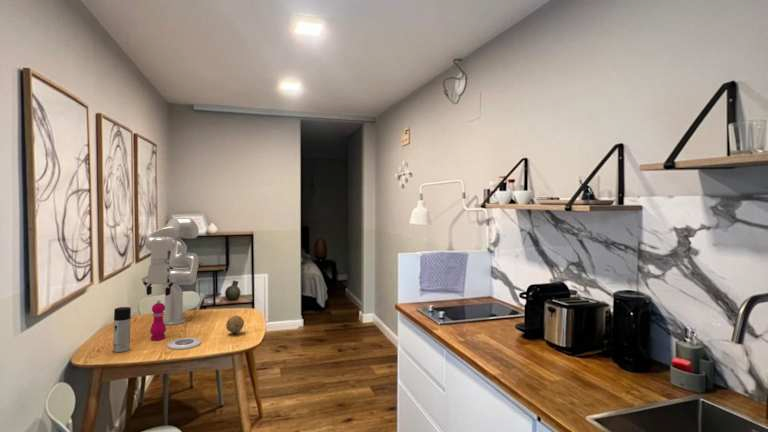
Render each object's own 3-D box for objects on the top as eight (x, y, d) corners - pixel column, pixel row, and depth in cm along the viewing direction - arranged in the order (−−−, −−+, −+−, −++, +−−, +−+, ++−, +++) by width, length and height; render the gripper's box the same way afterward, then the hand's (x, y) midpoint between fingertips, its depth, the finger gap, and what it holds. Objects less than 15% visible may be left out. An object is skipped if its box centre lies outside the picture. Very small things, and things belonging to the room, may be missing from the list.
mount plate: (177, 339, 210) (177, 336, 210) (206, 340, 210) (206, 337, 210) (161, 349, 195) (161, 346, 195) (192, 350, 195) (192, 347, 195)
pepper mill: (158, 341, 206) (159, 302, 206) (146, 340, 208) (147, 301, 207) (169, 337, 213) (169, 299, 213) (157, 335, 215) (157, 298, 214)
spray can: (118, 347, 196) (118, 306, 195) (132, 347, 196) (133, 306, 196) (110, 352, 189) (110, 310, 189) (125, 352, 190) (126, 310, 189)
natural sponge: (237, 337, 216) (237, 318, 216) (222, 335, 217) (222, 317, 217) (246, 332, 225) (246, 314, 224) (232, 331, 226) (232, 313, 226)
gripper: (179, 261, 213) (178, 293, 213) (147, 260, 214) (146, 293, 214) (171, 263, 206) (171, 296, 206) (138, 262, 206) (137, 295, 206)
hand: (158, 294), depth 210 cm, fingers open, 9 cm apart
